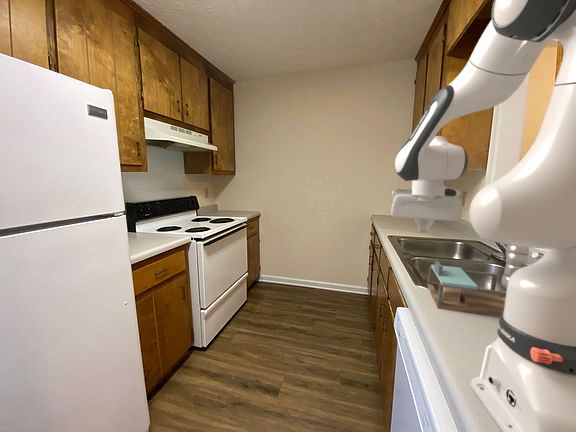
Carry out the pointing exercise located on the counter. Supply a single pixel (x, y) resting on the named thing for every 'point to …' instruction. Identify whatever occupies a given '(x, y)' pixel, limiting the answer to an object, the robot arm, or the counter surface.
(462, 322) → the counter surface
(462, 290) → the brown wooden box
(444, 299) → the block
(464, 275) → the cover
